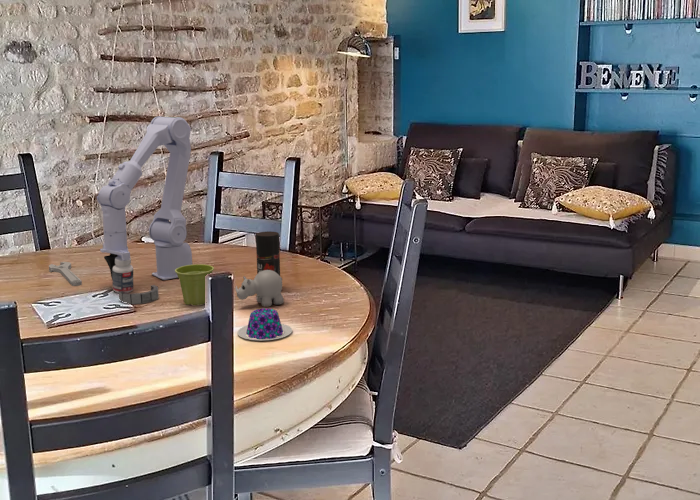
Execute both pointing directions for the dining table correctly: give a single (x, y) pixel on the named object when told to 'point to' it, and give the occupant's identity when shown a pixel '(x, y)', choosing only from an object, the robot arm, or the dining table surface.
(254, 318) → the pudding
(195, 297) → the plant pot
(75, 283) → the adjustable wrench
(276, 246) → the deodorant
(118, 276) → the pill bottle
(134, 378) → the dining table surface
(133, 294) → the collar
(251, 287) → the toy rhinoceros
